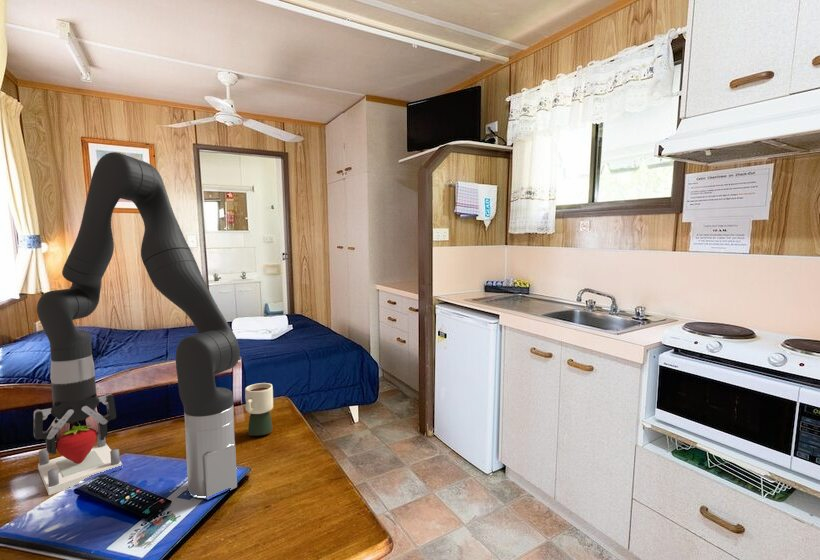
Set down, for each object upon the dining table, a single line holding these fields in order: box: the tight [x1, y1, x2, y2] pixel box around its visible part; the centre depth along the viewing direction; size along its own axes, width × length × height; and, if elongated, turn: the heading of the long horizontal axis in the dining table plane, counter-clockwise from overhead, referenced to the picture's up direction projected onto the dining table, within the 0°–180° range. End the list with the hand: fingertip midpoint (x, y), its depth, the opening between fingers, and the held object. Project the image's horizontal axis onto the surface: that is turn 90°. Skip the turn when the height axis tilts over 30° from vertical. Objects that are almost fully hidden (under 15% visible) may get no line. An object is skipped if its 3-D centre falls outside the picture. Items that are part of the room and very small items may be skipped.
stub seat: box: [37, 433, 123, 496], centre depth 90 cm, size 15×13×4 cm
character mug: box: [244, 382, 274, 437], centre depth 108 cm, size 11×7×13 cm, turn 169°
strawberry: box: [56, 421, 98, 463], centre depth 90 cm, size 6×8×10 cm
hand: (78, 446), depth 90 cm, fingers open, 8 cm apart
